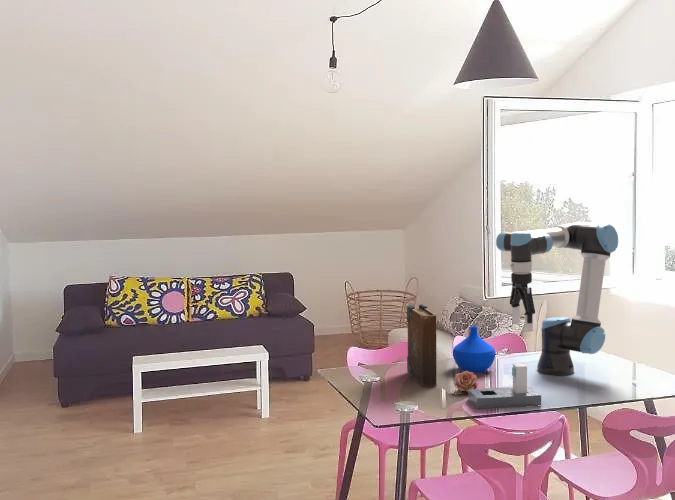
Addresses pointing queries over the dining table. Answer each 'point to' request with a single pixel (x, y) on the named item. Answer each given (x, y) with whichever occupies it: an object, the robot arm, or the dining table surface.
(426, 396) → the dining table surface
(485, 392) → the panel
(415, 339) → the decorative book
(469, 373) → the flower
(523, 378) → the plug
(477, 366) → the vase
